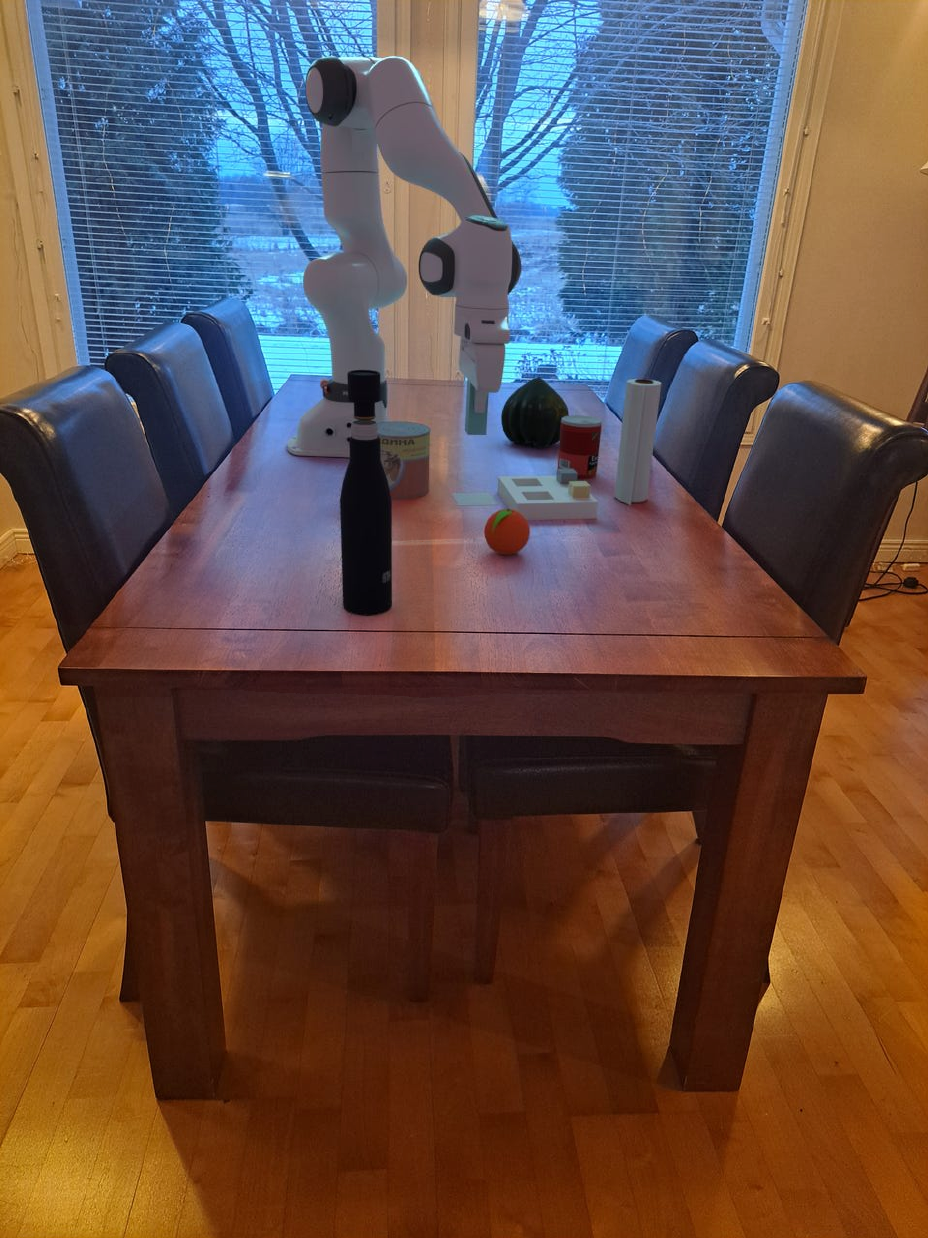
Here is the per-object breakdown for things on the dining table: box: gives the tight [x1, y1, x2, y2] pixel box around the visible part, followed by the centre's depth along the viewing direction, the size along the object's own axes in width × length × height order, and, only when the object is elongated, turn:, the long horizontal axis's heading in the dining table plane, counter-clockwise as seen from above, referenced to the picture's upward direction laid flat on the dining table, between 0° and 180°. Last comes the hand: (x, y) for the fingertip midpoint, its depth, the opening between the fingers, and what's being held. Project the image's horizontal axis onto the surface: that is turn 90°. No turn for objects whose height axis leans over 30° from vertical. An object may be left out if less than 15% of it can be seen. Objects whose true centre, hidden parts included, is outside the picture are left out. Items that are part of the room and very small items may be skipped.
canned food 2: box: [556, 414, 603, 480], centre depth 175 cm, size 8×8×11 cm
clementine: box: [483, 508, 531, 556], centre depth 133 cm, size 8×7×7 cm
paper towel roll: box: [614, 378, 662, 506], centre depth 158 cm, size 7×6×21 cm
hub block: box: [496, 468, 599, 521], centre depth 155 cm, size 14×16×6 cm
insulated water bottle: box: [339, 370, 393, 616], centre depth 110 cm, size 6×6×30 cm
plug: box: [464, 378, 489, 436], centre depth 151 cm, size 3×3×10 cm
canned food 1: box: [377, 420, 431, 501], centre depth 159 cm, size 11×11×12 cm
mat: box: [451, 492, 498, 507], centre depth 158 cm, size 7×7×1 cm
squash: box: [500, 376, 570, 449], centre depth 196 cm, size 14×15×15 cm
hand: (476, 408), depth 151 cm, fingers closed on plug, 3 cm apart
